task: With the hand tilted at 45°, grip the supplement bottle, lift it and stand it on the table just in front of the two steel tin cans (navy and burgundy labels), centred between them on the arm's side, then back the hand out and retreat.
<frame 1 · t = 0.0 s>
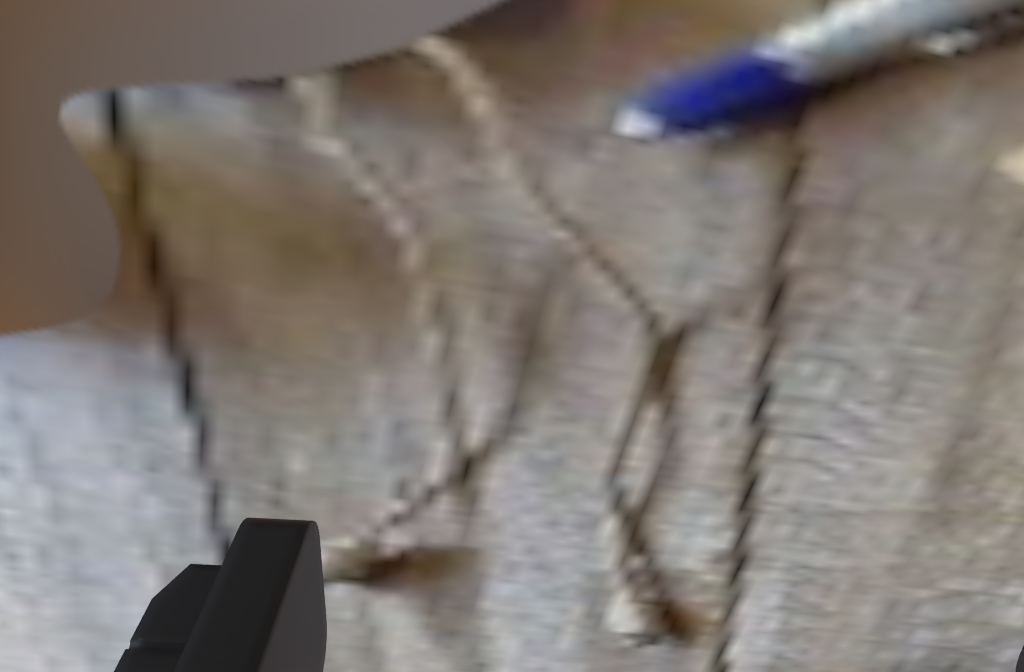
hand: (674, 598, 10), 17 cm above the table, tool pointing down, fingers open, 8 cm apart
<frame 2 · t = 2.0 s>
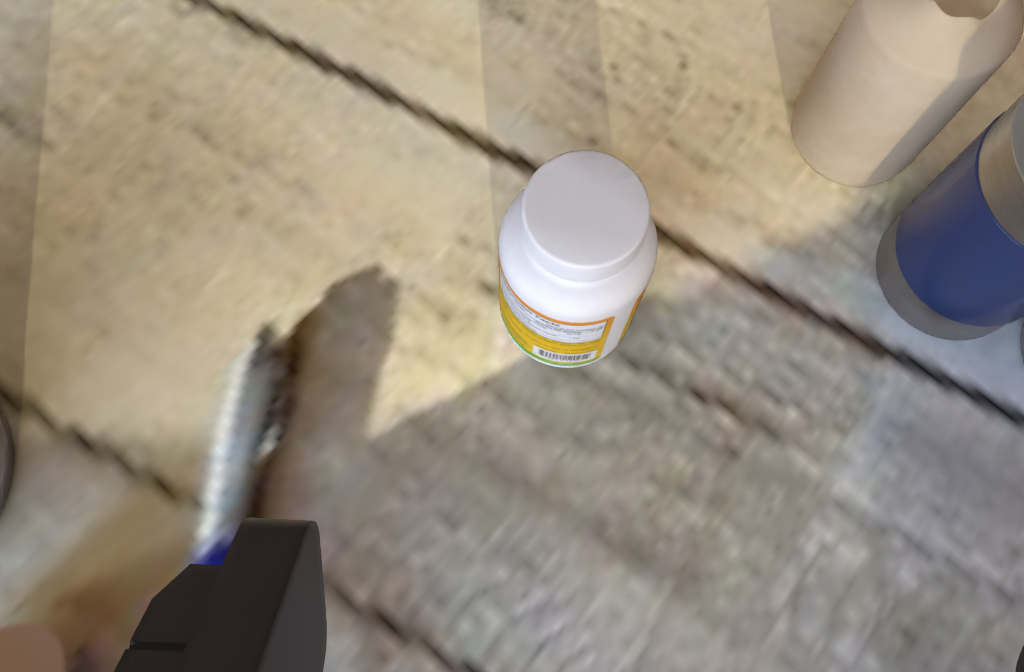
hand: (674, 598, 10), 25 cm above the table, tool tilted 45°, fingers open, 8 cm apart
supplement bottle: (564, 308, 37), on the table
candle: (851, 132, 40), on the table
navy tin: (948, 271, 38), on the table
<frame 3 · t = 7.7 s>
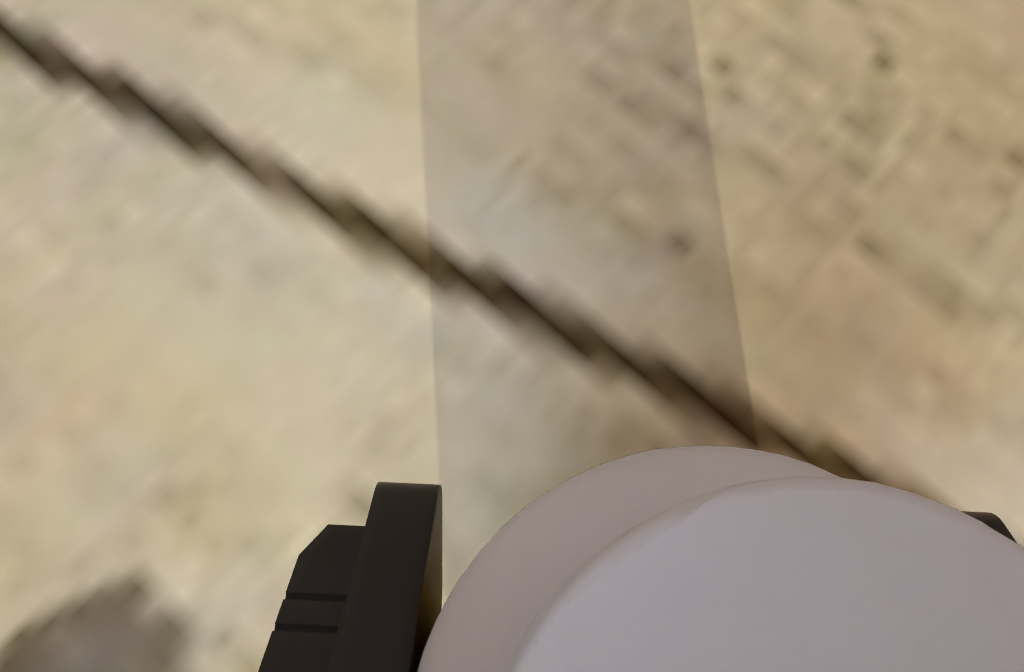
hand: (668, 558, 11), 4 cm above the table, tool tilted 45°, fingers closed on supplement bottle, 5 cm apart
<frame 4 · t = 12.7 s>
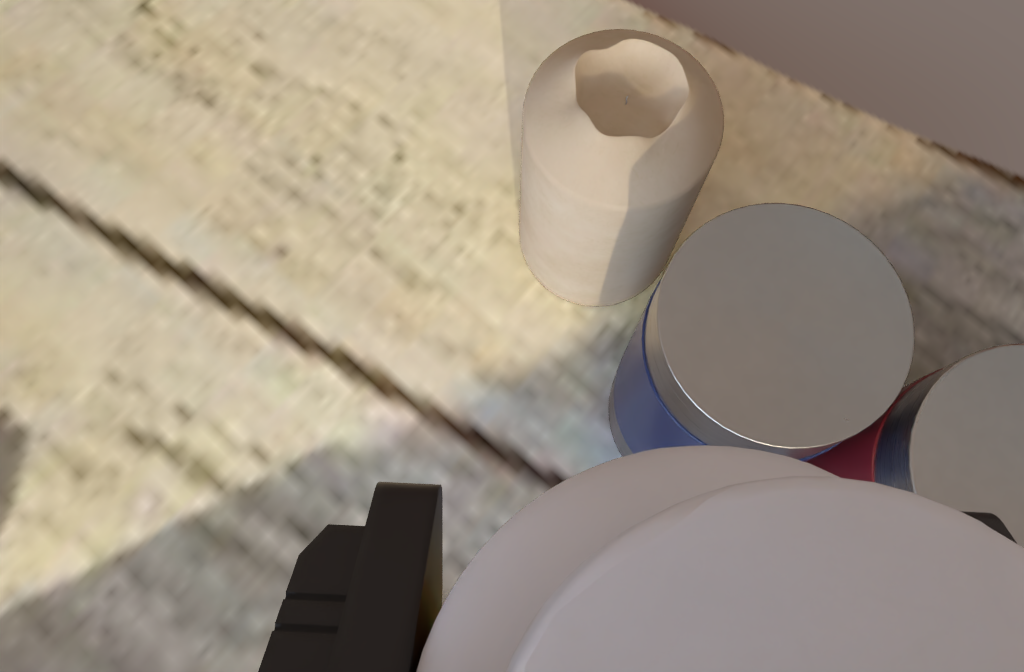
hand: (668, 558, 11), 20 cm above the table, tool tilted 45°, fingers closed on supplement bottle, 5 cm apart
candle: (593, 238, 33), on the table
navy tin: (695, 412, 31), on the table
burgundy tin: (866, 516, 30), on the table
when the fingers open (4 cm above the table, at t = 17.6 s): supplement bottle stays where it is, on the table.
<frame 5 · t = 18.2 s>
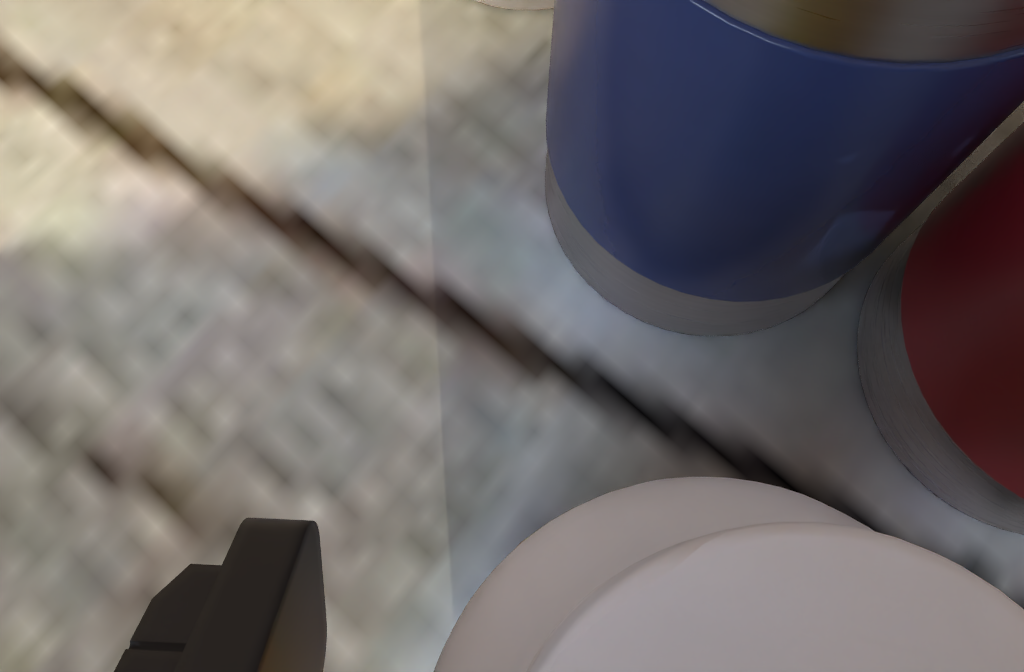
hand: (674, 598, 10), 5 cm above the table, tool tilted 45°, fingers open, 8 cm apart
navy tin: (704, 184, 17), on the table
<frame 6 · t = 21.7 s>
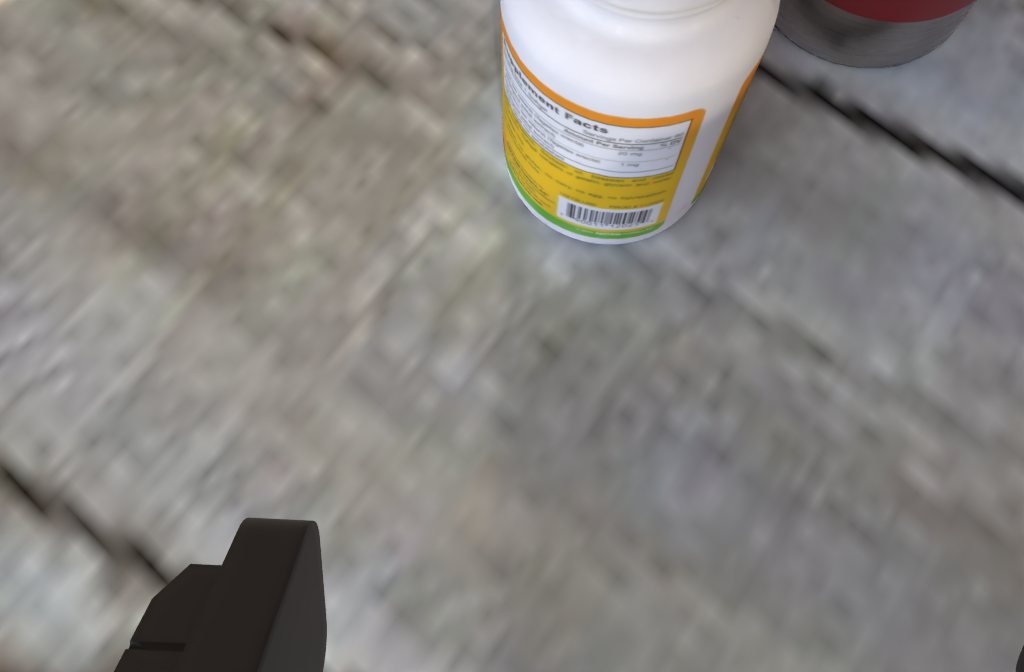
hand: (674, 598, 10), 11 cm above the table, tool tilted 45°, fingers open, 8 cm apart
supplement bottle: (604, 158, 24), on the table
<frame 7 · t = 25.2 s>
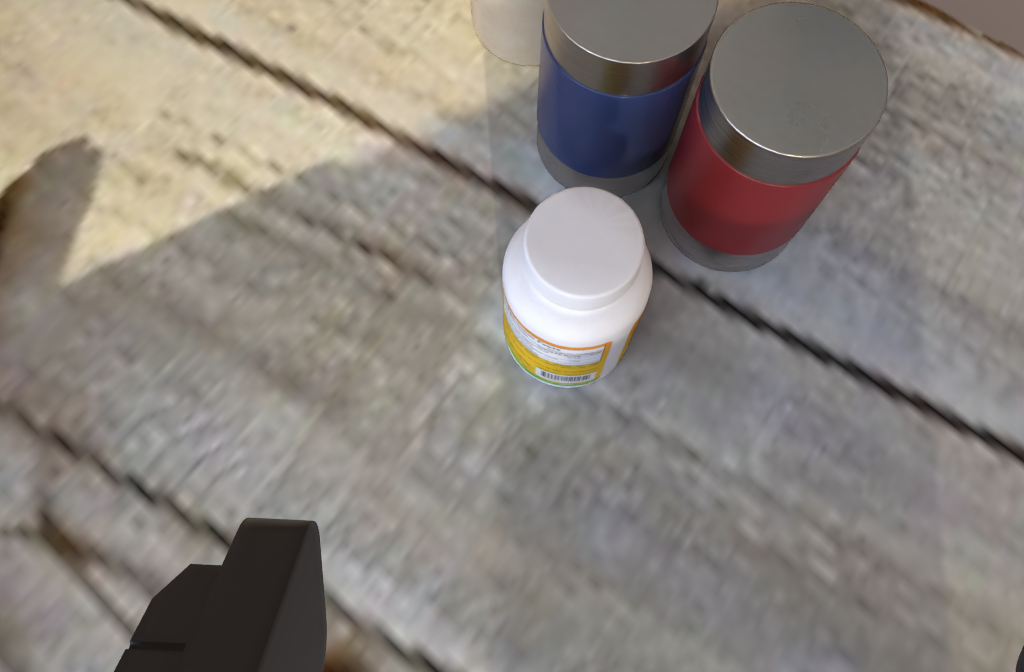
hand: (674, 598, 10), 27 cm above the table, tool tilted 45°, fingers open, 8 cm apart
supplement bottle: (566, 330, 39), on the table
candle: (529, 19, 44), on the table
navy tin: (602, 138, 42), on the table
burgundy tin: (727, 209, 41), on the table
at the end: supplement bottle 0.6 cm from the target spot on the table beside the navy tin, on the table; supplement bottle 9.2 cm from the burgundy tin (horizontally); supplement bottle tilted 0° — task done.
